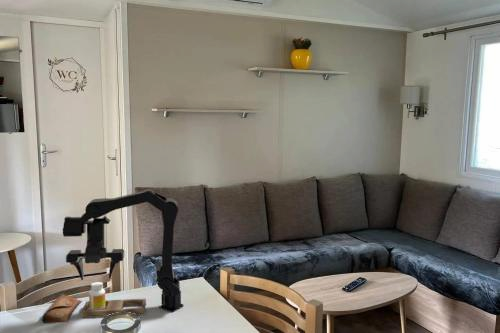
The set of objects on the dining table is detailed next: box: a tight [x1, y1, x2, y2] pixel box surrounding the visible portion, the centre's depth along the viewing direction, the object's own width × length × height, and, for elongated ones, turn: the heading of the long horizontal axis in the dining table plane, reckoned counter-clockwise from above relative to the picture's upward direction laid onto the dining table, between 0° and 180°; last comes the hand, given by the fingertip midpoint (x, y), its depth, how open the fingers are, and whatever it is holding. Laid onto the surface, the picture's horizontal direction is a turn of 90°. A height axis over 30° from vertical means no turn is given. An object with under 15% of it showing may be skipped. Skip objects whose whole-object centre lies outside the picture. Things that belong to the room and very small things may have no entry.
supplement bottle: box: [88, 281, 106, 310], centre depth 155 cm, size 5×5×10 cm
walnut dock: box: [80, 298, 147, 318], centre depth 156 cm, size 21×9×2 cm, turn 100°
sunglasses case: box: [41, 293, 83, 324], centre depth 155 cm, size 18×7×7 cm, turn 7°
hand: (96, 279), depth 154 cm, fingers open, 9 cm apart
